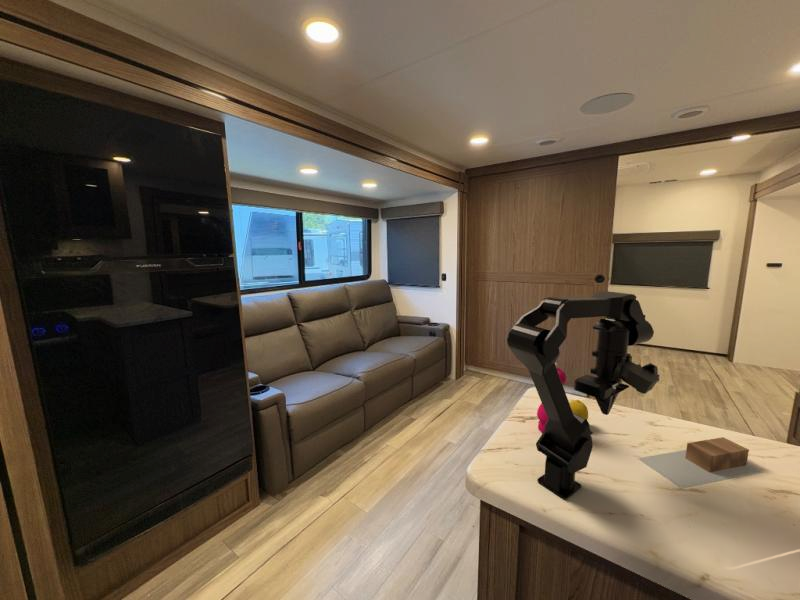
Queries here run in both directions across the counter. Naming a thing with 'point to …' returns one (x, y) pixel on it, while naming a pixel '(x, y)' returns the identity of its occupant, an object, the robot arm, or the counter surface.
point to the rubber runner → (691, 470)
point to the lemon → (579, 409)
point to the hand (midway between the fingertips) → (605, 413)
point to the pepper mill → (541, 411)
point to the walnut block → (716, 454)
